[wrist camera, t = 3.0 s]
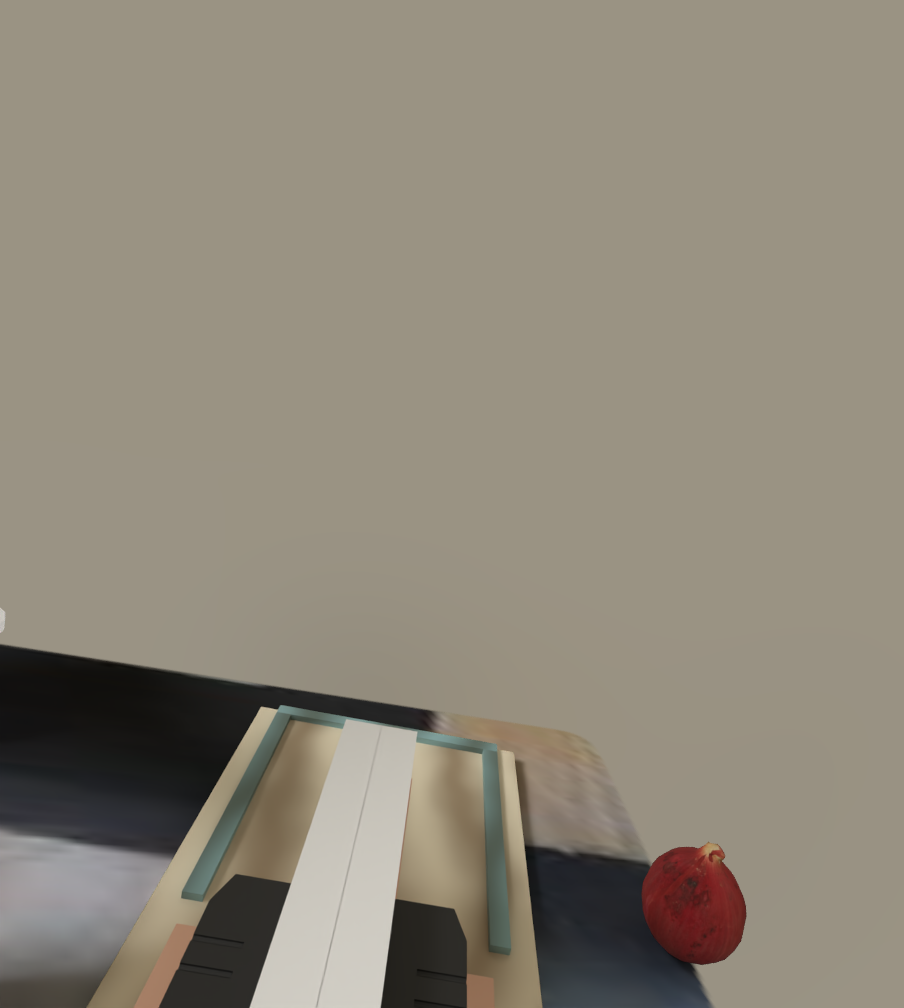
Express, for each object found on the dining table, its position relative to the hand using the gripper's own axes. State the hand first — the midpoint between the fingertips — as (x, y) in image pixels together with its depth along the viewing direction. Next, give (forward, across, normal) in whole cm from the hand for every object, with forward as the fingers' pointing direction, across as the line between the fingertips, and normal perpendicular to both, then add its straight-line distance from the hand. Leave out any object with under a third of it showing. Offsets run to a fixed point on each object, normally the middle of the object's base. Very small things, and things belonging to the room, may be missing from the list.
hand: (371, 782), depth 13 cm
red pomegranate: (+20, +20, -24) cm, 37 cm away
